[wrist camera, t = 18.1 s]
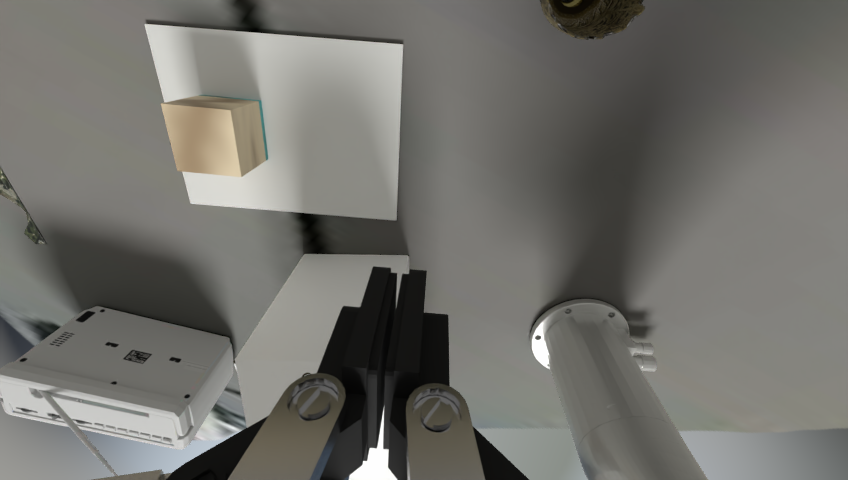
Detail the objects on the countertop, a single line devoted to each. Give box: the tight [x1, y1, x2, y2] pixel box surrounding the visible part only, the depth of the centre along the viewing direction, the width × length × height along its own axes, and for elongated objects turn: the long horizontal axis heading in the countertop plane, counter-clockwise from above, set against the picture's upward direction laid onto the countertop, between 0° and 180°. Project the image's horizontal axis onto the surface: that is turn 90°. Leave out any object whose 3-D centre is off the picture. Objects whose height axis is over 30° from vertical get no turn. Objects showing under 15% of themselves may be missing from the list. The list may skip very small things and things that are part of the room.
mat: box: [145, 24, 403, 221], centre depth 38 cm, size 24×18×1 cm
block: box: [161, 95, 268, 177], centre depth 35 cm, size 6×6×6 cm
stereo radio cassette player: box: [0, 306, 234, 476], centre depth 45 cm, size 21×8×20 cm, turn 74°
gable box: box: [233, 254, 410, 480], centre depth 38 cm, size 22×13×28 cm, turn 1°
